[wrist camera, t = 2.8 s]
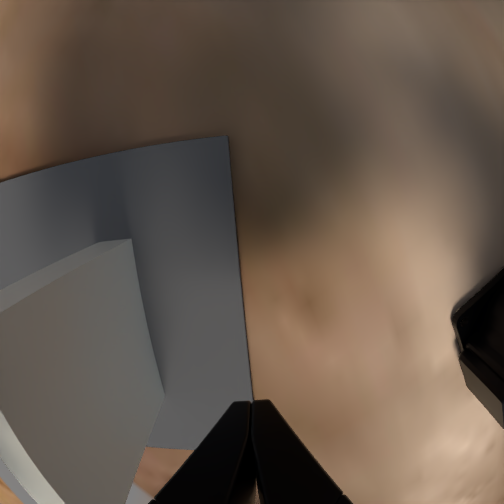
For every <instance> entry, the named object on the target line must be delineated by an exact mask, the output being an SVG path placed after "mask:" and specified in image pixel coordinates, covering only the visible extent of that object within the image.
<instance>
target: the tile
mask: <svg viewBox="0 0 504 504" xmlns="http://www.w3.org/2000/svg"><path fill="white" fill-rule="evenodd" d="M164 397H165V393H164V389H163V386H162V382H161V379H160V375H159V371H158V367H157V364H156V360H155V356H154V352H153V348H152V343H151V339H150V335H149V330H148V326H147V321H146V317H145V312H144V307H143V302H142V297H141V292H140V287H139V281H138V276H137V270H136V264H135V258H134V252H133V245H132V239H122V240H113V241H103V242H98V243H96V244H94V245H91V246H89V247H87V248H85V249H83V250H81V251H78V252H76V253H74V254H72V255H70V256H68V257H65V258H63V259H61V260H59V261H57V262H55V263H53V264H51V265H49V266H47V267H45V268H43V269H41V270H39V271H37V272H35V273H33V274H31V275H29V276H27V277H25V278H23V279H21V280H19V281H17V282H15V283H13V284H11V285H9V286H7V287H5V288H3V289H1V290H0V458H1V459H2V461H3V462H4V463H5V465H6V466H7V467H8V469H9V470H10V471H11V473H12V474H13V475H14V477H15V478H16V479H17V480H18V481H19V483H20V484H21V485H22V486H23V488H24V489H25V490H26V491H27V492H28V494H29V495H30V496H31V497H32V498H33V499H34V500H35V501H36V503H37V504H125V502H126V500H127V497H128V494H129V491H130V488H131V486H132V483H133V480H134V477H135V474H136V472H137V469H138V466H139V463H140V461H141V458H142V455H143V453H144V450H145V447H146V444H147V442H148V439H149V436H150V434H151V431H152V428H153V426H154V423H155V421H156V418H157V415H158V413H159V410H160V407H161V405H162V402H163V400H164Z"/></svg>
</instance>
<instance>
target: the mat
mask: <svg viewBox="0 0 504 504" xmlns="http://www.w3.org/2000/svg"><path fill="white" fill-rule="evenodd" d="M122 239H132V245H133V252H134V258H135V264H136V270H137V276H138V281H139V287H140V292H141V297H142V302H143V307H144V312H145V317H146V321H147V326H148V330H149V335H150V339H151V343H152V348H153V352H154V356H155V360H156V364H157V367H158V371H159V375H160V379H161V382H162V386H163V389H164V393H165V397H164V400H163V402H162V405H161V407H160V410H159V413H158V415H157V418H156V421H155V423H154V426H153V428H152V431H151V434H150V436H149V439H148V442H147V444H146V447H157V448H169V449H186V450H195V449H196V448H197V447H198V445H199V444H200V443H201V442H202V440H203V439H204V438H205V437H206V436H207V434H208V433H209V432H210V431H211V429H212V428H213V427H214V425H215V424H216V423H217V422H218V420H219V419H220V418H221V417H222V415H223V414H224V413H225V411H226V410H227V409H228V407H229V406H230V405H231V404H232V402H234V401H250V402H251V403H252V401H253V393H252V384H251V375H250V365H249V356H248V346H247V336H246V326H245V316H244V306H243V296H242V286H241V276H240V265H239V254H238V244H237V233H236V222H235V211H234V199H233V188H232V176H231V165H230V153H229V140H228V136H217V137H209V138H200V139H192V140H185V141H178V142H171V143H165V144H158V145H152V146H146V147H141V148H135V149H130V150H124V151H119V152H114V153H110V154H105V155H100V156H96V157H91V158H87V159H83V160H78V161H74V162H70V163H66V164H62V165H58V166H55V167H51V168H47V169H44V170H40V171H37V172H33V173H30V174H27V175H23V176H20V177H17V178H14V179H10V180H7V181H4V182H1V183H0V290H1V289H3V288H5V287H7V286H9V285H11V284H13V283H15V282H17V281H19V280H21V279H23V278H25V277H27V276H29V275H31V274H33V273H35V272H37V271H39V270H41V269H43V268H45V267H47V266H49V265H51V264H53V263H55V262H57V261H59V260H61V259H63V258H65V257H68V256H70V255H72V254H74V253H76V252H78V251H81V250H83V249H85V248H87V247H89V246H91V245H94V244H96V243H98V242H103V241H113V240H122Z"/></svg>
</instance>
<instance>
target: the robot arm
mask: <svg viewBox="0 0 504 504" xmlns="http://www.w3.org/2000/svg"><path fill="white" fill-rule="evenodd" d="M463 318H464V319H463ZM462 319H463V321H462V322H461V320H462ZM460 322H461V323H460ZM452 325H453V328H454V331H455V334H456V337H457V340H458V343H459V346H460V349H461V353H460V354H459V362H460V365H461V368H462V372H463V375H464V379H465V382H466V386H467V387H468V388H469V390H470V391H471V392H472V393H473V394H474V395H475V396H476V398H477V399H478V400H479V401H480V402H481V403H482V404H483V406H484V407H485V408H486V409H487V410H488V411H489V413H490V414H491V415H492V416H493V417H494V418H495V420H496V421H497V422H498V423H499V424H500V426H501V427H502V428H503V429H504V269H503V270H502V271H501V272H500V273H499V274H498V275H497V276H496V277H495V278H493V279H492V280H491V281H490V282H489V283H488V284H487V285H486V286H485V287H484V288H483V289H482V290H481V291H479V292H478V293H477V294H476V295H475V296H474V297H473V298H472V299H470V300H469V301H468V302H467V303H466V304H465V305H464V306H462V307H461V308H460V309H459V310H458V311H457V312H456V313H455V314H454V316H453V319H452ZM256 481H257V488H258V494H259V499H260V504H353V503H352V502H351V500H350V499H349V498H348V497H347V496H346V495H343V491H342V490H341V489H340V488H339V487H338V486H337V484H336V483H335V482H334V481H333V480H332V478H331V477H330V476H329V475H328V474H327V472H326V471H325V470H324V469H323V468H322V466H321V465H320V464H319V463H318V461H317V460H316V459H315V458H314V456H313V455H312V454H311V453H310V451H309V450H308V449H307V448H306V446H305V445H304V444H303V443H302V441H301V440H300V439H299V437H298V436H297V435H296V434H295V432H294V431H293V430H292V428H291V427H290V426H289V424H288V423H287V422H286V420H285V419H284V418H283V416H282V415H281V414H280V412H279V411H278V410H277V408H276V407H275V406H274V404H273V403H272V402H271V401H270V400H269V399H264V400H254V401H252V403H251V402H250V401H234V402H232V404H231V405H230V406H229V407H228V409H227V410H226V411H225V413H224V414H223V415H222V417H221V418H220V419H219V420H218V422H217V423H216V424H215V425H214V427H213V428H212V429H211V431H210V432H209V433H208V434H207V436H206V437H205V438H204V439H203V440H202V442H201V443H200V444H199V445H198V447H197V448H196V449H195V450H194V452H193V453H192V454H191V455H190V456H189V458H188V459H187V460H186V461H185V462H184V464H183V465H182V466H181V467H180V468H179V469H178V471H177V472H176V473H175V474H174V475H173V476H172V478H171V479H170V480H169V481H168V482H167V483H166V484H165V486H164V487H163V488H162V489H161V490H160V491H159V492H158V494H157V495H156V496H155V497H154V499H155V500H153V499H152V500H151V501H150V502H149V503H148V504H254V503H255V494H256Z"/></svg>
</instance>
